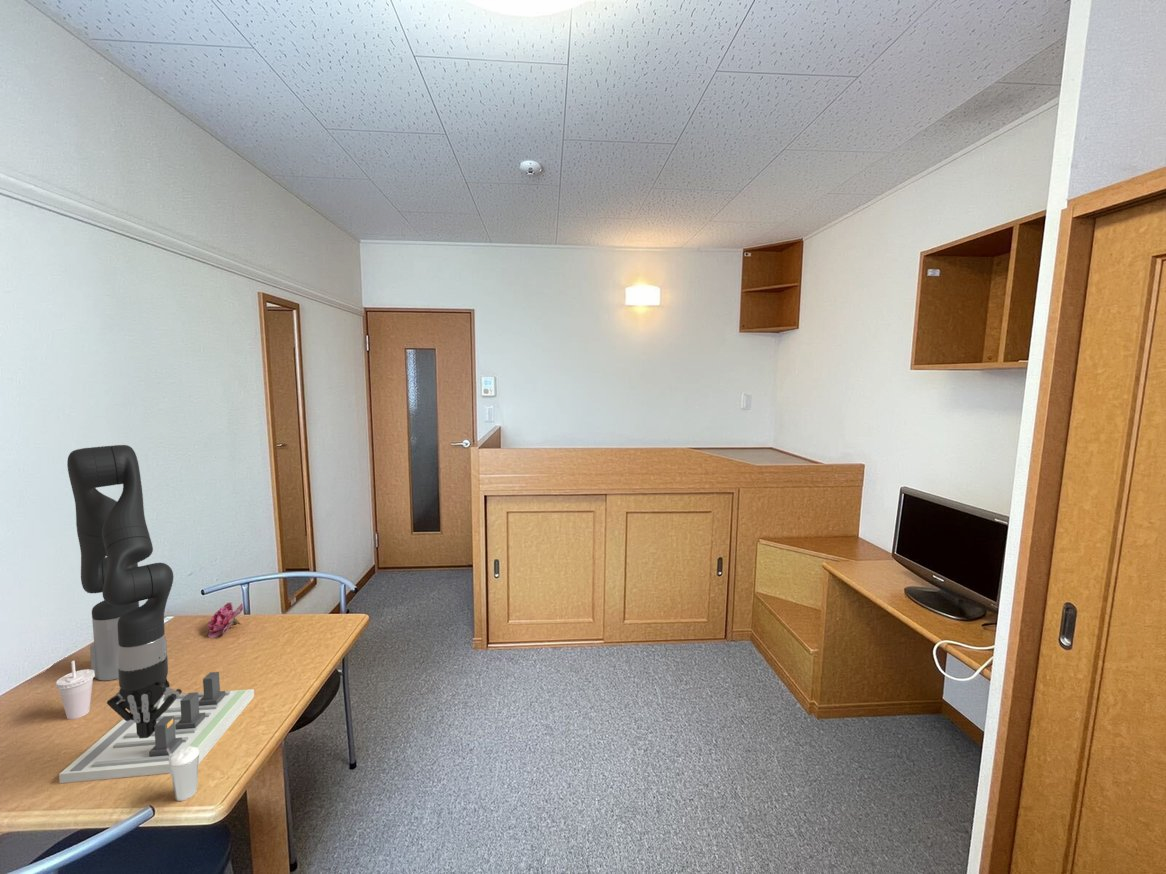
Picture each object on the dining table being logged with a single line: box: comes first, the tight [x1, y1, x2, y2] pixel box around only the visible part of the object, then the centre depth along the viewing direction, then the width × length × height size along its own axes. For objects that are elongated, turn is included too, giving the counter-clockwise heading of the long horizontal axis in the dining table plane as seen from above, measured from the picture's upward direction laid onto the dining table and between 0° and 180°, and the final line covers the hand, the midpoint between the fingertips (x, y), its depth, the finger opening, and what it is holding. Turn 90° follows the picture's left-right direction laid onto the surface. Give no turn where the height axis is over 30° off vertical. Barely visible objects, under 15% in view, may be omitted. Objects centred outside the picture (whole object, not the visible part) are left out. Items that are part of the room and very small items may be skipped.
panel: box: [58, 671, 255, 784], centre depth 106 cm, size 24×24×9 cm
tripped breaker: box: [149, 716, 182, 757], centre depth 99 cm, size 4×4×7 cm
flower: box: [206, 602, 248, 639], centre depth 151 cm, size 11×10×10 cm
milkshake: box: [166, 746, 199, 802], centre depth 91 cm, size 4×5×10 cm
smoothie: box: [55, 660, 95, 720], centre depth 112 cm, size 6×6×14 cm
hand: (147, 735), depth 98 cm, fingers closed
